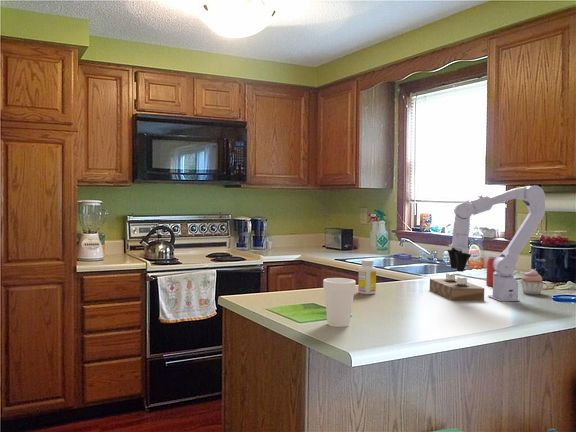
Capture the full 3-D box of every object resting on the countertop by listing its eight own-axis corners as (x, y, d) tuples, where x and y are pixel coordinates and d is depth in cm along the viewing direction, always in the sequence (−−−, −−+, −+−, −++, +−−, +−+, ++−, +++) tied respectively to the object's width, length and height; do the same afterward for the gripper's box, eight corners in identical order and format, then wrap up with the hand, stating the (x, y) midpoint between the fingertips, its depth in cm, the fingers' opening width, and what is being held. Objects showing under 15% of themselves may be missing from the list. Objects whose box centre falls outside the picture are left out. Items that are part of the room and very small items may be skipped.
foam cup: (352, 320, 169) (353, 278, 169) (356, 328, 160) (358, 283, 159) (320, 320, 169) (321, 277, 168) (323, 328, 160) (324, 282, 159)
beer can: (504, 287, 237) (506, 259, 236) (489, 286, 237) (490, 258, 236) (499, 284, 243) (500, 257, 243) (484, 284, 243) (485, 256, 243)
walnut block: (484, 300, 206) (484, 288, 206) (453, 300, 204) (453, 288, 204) (457, 289, 228) (457, 278, 228) (429, 289, 226) (429, 278, 226)
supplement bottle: (375, 291, 219) (375, 259, 219) (376, 295, 213) (376, 261, 212) (357, 291, 220) (358, 258, 219) (358, 294, 213) (359, 260, 213)
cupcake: (521, 290, 229) (522, 266, 229) (546, 293, 224) (547, 268, 224) (516, 293, 222) (517, 268, 221) (541, 296, 217) (542, 271, 216)
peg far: (456, 284, 220) (456, 274, 219) (447, 284, 219) (448, 274, 219) (452, 283, 223) (452, 273, 223) (444, 283, 222) (444, 273, 222)
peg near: (468, 289, 210) (468, 278, 209) (459, 289, 209) (459, 278, 209) (463, 287, 213) (464, 276, 213) (455, 287, 213) (455, 277, 212)
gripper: (444, 231, 219) (441, 266, 220) (456, 235, 205) (452, 271, 206) (462, 233, 219) (458, 267, 220) (475, 236, 205) (471, 273, 206)
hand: (457, 269), depth 213 cm, fingers open, 7 cm apart
